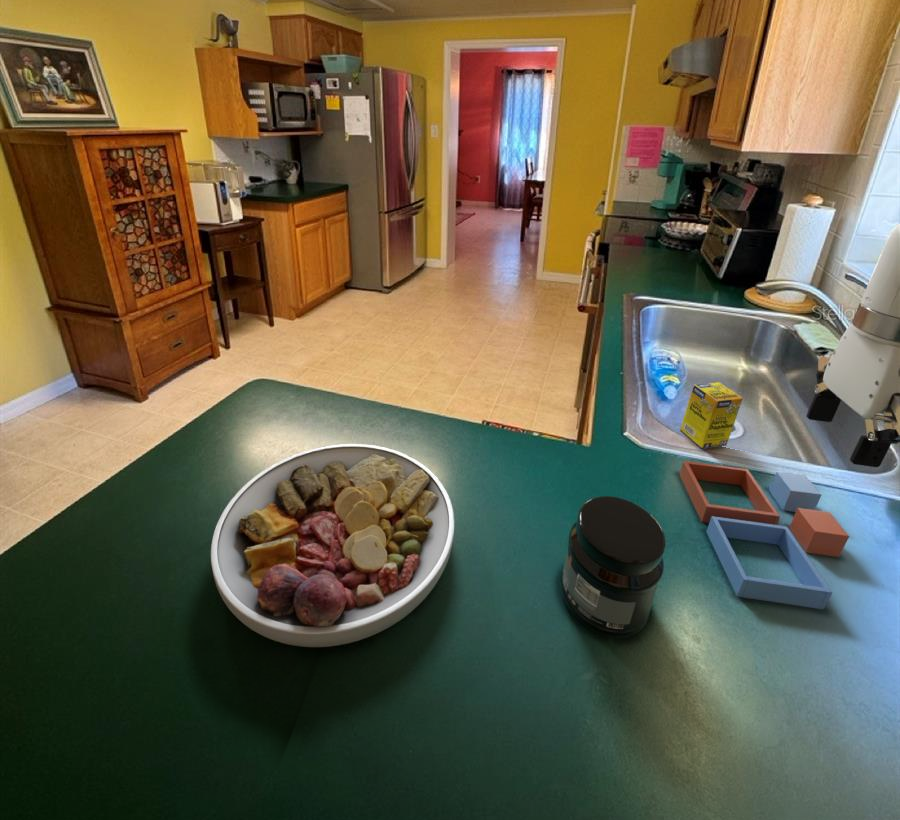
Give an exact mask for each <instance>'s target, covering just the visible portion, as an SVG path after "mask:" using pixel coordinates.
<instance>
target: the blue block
mask: <svg viewBox="0 0 900 820" xmlns="http://www.w3.org/2000/svg"><path fill="white" fill-rule="evenodd" d="M768 491H769V492H770V494H771V495H772V497H773V498H774V499H775V501H776V503H777V504H778V506H780V509H782V510H783V511H787V512H795V513H796V511H797V508H802V509H810V510H816V509H817V506H818V504H819V503H820V499H821V498H822V493H821V492H820V491H819V490H818V488H817V487H816V486H815V485H814V484H813V482H812V481H811V480H810V478H809V477H807V475H805V474H801V473H800V474H799V473H792V472H784V471H776V472H775V474H774V476H773V480H772V481H771V484H770V486H769V489H768Z"/></svg>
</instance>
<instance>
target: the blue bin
mask: <svg viewBox="0 0 900 820" xmlns="http://www.w3.org/2000/svg"><path fill="white" fill-rule="evenodd" d="M706 534H707V536H708V539H709V541H710V542H711V545H712V547H713V549H714V551H715V554H716V555H717V557H718V560H719V561H720V563H721V565H722V568H723V570H724V572H725V574H726V576H727V578H728V581H729V582H730V585H731V586H732V589H733V591H734V592H735V596H736V597H738V598H739V597H740V598H746V599H752V600H759V601H766V602H773V603H778V604H783V605H784V604H786V605H791V606H799V607H803V608H805V607H806V608H812V609H819V610H825V608H826V606H827V604H828V602H829V600H830V598H831V596H832V595H833V591H832V590H831V589H830V587H829V586H828V584H827V582H826V581H825V579H824V578H823V577H822V575H821V574H820V573H819V570H817V568H816V566H815V565H814V564H813V562H812V560H811V559H810V557H809V556H808V555H807V552H805V550H804V549H803V547H802V546H801V545H800V543H799V542H798V540H797V539H796V537H795V536H794V534H793V533H792V531H791V530H790V529H789V526H786V525H779V524H777V525H772V524H765V523H758V522H750V521H743V520H736V519H728V518H721V517H714V516H712V517H711V520H710V523H708V526H707V529H706ZM728 538H729V539H735V540H743V541H749V542H759V543H763V544H772V545H778V547H779V548H780V550H781V551H782V553H783V554H784V556H785V558H786V559H787V561H788V563H789V564H790V565H791V567H792V569H793V570H794V571H795V573H796V575H797V576H798V578H799V580H800V581H801V583H802V584H801V583H796V582H795V583H794V582H788V581H782V580H774V579H768V578H761V577H756V576H755V577H754V576H747V574H746V572H745V570H744V568H743V566H742V564H741V562H740V561H739V558H738V557H737V555H736V553H735V551H734V549H733V547H732V544H731V542H730V541H729V539H728Z"/></svg>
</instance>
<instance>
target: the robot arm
mask: <svg viewBox="0 0 900 820" xmlns="http://www.w3.org/2000/svg"><path fill="white" fill-rule="evenodd" d="M867 283H868V284H867V286H866V288H865V290H864V293H863V294H862V298H861V300H860V302H859V304H858V307H857V309H856V311H855V314H854V316H853V318H852V321H851V323H850V324H849V326H848V327H847V328H846V329H845V331H844V333H843V334H842V336H841V337H840V339H839V341H838V342H837V344H836V346H835V348H834V350H833V351H832V354H831V356H820V357H819V358H818V363H817V372H816V374H815V377H816V384H815V385H814V393H815V394H814V396H813V399H812V401H811V404H810V406H809V409H808V411H807V412H806V414H805V415H806V419H808V420H811V421H818V422H825V423H832V422H833V419H834V417H835V415H836V413H837V411H838V408H839V406H840V404H841V402H844V403H845V404H846V405H847V407H849V408H851V409H852V410H853V411H854V412H855V413H856V414H858V415H859V416H861V417H862V418H863V419H864V424H865V425H864V426H865V431H866V435H863V434H862V435H861V436H860V437H859V439H858V441H857V443H856V445H855V447H854V450H853V451H852V453H851V456H850V457H849V461H850V462H851V463H852V464H853V465H856V466H864V467H870V468H871V467H872V468H879V467H880V466H881V465H882V463H883V461H884V459H885V457H886V455H887V453H888V451H889V450H890V447H891V446H892V445H898V444H899V443H900V223H899V224H897V225H895V226H894V227H893V228H892V230H891V231H890V233H889V234H888V237H887V239H886V241H885V244H884V246H883V248H882V250H881V253H880V255H879V258H878V260H877V262H876V264H875V267H874V269H873V272H872V274H871V276H870V278H869V281H868V282H867ZM879 413H883V414H879ZM878 422H881V423H883V425H884V429H880V430H879V425H878V424H879V423H878Z"/></svg>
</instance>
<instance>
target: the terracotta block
mask: <svg viewBox="0 0 900 820" xmlns="http://www.w3.org/2000/svg"><path fill="white" fill-rule="evenodd" d="M788 528H789V530H790V531H791V533H792V534H793V536H794V537H795V539H796V540H797V542H798V543H799V545H800V546H801V548H802V549H803V550H804V552H805V553H806V554H807V553H808V554H816V555H822V556H828V557H829V556H830V557H837V558H839V557H840V556H841V554H842V552H843V550H844V548H845V546H846V544H847V542H848V540H849V538H850V535H849V534H848V533H847V531H846V530H845V529H844V527H842V525H841V523H839V521H837V519H836V518H835V517H834V516H833V514H832V513H831V512H830V511H825V510H818V509H817V510H816V509H815V510H810V509H802V508H797V511H796V512H795V513H794V516H793V518H792V520H791V522H790V525H789V526H788Z"/></svg>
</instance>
